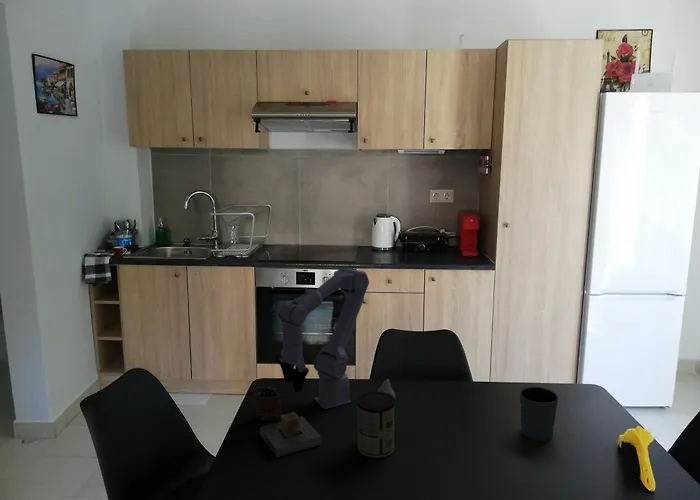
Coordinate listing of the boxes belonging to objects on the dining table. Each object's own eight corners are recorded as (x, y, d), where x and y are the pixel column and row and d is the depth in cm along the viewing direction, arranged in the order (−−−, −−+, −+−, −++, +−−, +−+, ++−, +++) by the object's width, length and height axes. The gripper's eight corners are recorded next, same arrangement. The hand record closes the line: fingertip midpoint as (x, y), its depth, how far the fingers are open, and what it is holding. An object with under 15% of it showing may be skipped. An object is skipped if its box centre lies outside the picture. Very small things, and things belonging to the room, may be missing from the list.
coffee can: (363, 435, 150) (363, 388, 147) (398, 441, 146) (399, 394, 144) (351, 454, 140) (351, 405, 138) (389, 461, 137) (389, 411, 134)
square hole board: (302, 423, 156) (302, 416, 156) (321, 444, 145) (320, 436, 144) (260, 435, 150) (260, 426, 149) (276, 457, 139) (276, 449, 138)
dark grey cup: (556, 428, 152) (559, 390, 150) (554, 446, 143) (557, 405, 141) (520, 421, 156) (522, 384, 154) (515, 438, 147) (517, 398, 145)
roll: (380, 373, 163) (397, 376, 160) (380, 409, 165) (397, 412, 163) (373, 380, 157) (391, 383, 155) (373, 418, 159) (391, 421, 157)
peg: (294, 434, 150) (294, 411, 149) (300, 441, 147) (299, 418, 145) (281, 438, 148) (281, 415, 147) (286, 445, 145) (286, 421, 144)
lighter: (282, 415, 161) (281, 385, 159) (280, 421, 158) (279, 390, 156) (257, 414, 162) (255, 384, 160) (254, 419, 159) (252, 389, 157)
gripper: (271, 337, 160) (272, 379, 162) (289, 353, 147) (289, 398, 149) (292, 334, 163) (293, 375, 165) (312, 348, 150) (312, 393, 153)
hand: (293, 386), depth 158 cm, fingers open, 7 cm apart
